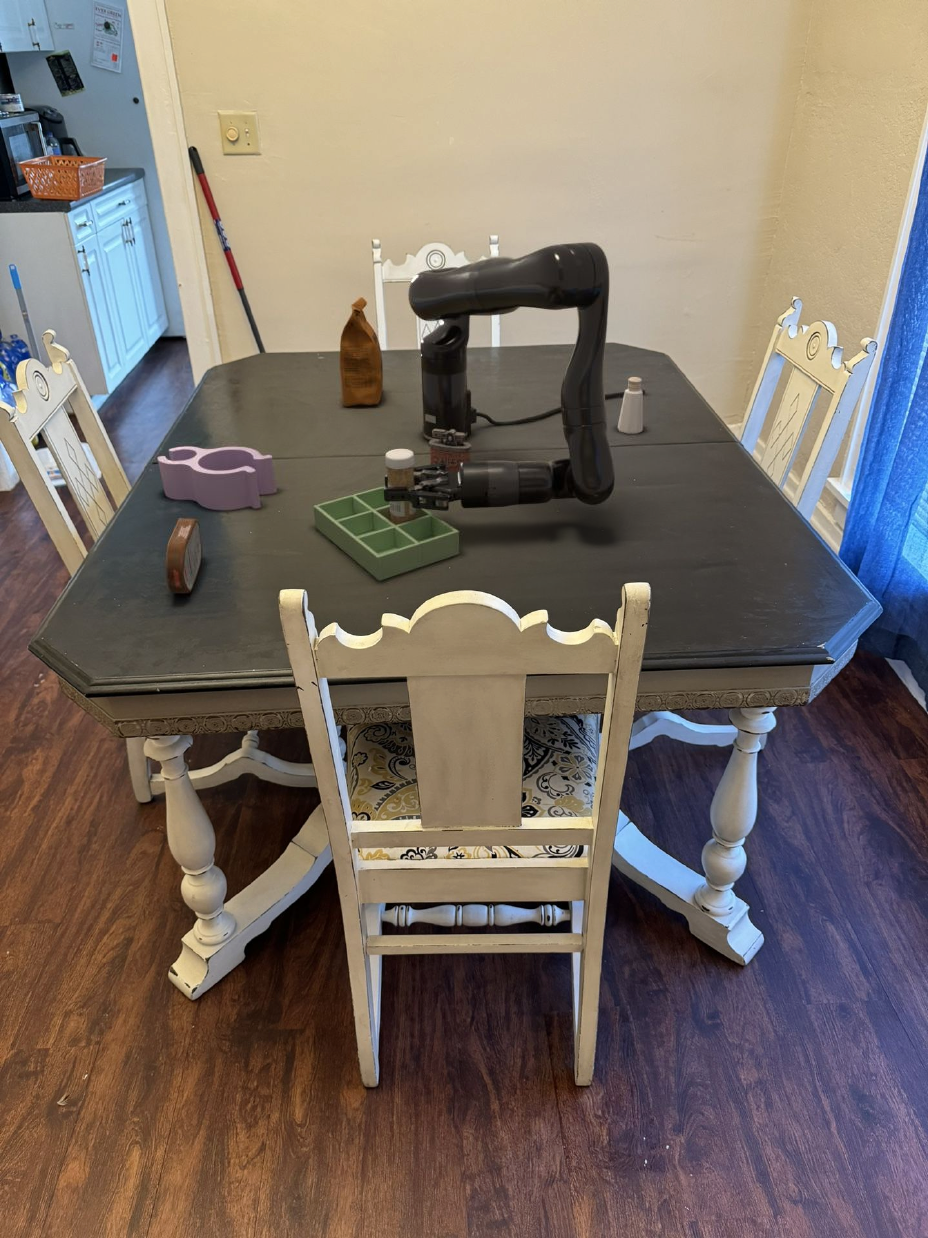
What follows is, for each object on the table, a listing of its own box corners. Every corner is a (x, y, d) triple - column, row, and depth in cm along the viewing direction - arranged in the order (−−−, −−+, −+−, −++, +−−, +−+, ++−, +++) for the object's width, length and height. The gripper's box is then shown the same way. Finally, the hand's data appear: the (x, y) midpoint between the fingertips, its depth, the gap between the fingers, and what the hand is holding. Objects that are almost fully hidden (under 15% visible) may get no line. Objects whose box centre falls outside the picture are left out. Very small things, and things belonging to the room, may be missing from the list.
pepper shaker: (614, 432, 184) (619, 380, 178) (620, 423, 188) (625, 373, 182) (639, 435, 182) (645, 383, 176) (645, 426, 187) (650, 376, 180)
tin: (188, 555, 140) (178, 508, 136) (208, 554, 140) (199, 507, 136) (170, 604, 128) (158, 554, 123) (191, 603, 128) (181, 553, 123)
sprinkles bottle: (423, 530, 144) (419, 454, 137) (399, 537, 142) (393, 460, 135) (409, 520, 148) (404, 445, 140) (385, 527, 146) (379, 451, 138)
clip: (152, 502, 157) (144, 466, 153) (188, 474, 167) (181, 440, 163) (252, 514, 153) (247, 477, 149) (283, 485, 163) (278, 450, 159)
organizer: (390, 505, 155) (389, 484, 153) (459, 553, 140) (458, 531, 138) (315, 527, 148) (313, 505, 146) (379, 580, 133) (377, 557, 131)
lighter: (473, 480, 164) (473, 429, 158) (467, 487, 161) (467, 436, 156) (433, 474, 166) (432, 424, 161) (427, 481, 164) (425, 431, 158)
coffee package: (389, 391, 207) (384, 295, 195) (380, 409, 197) (374, 309, 185) (348, 390, 208) (340, 295, 196) (337, 408, 198) (328, 308, 186)
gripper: (486, 445, 145) (384, 449, 145) (492, 480, 133) (381, 485, 133) (486, 487, 149) (387, 490, 149) (492, 524, 138) (384, 528, 137)
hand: (385, 488), depth 141 cm, fingers closed on sprinkles bottle, 4 cm apart
